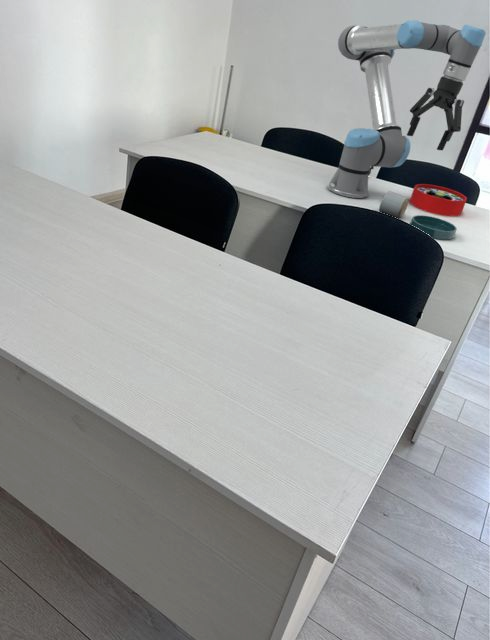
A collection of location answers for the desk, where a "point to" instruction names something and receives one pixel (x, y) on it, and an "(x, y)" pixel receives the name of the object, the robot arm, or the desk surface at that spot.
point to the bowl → (434, 227)
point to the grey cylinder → (393, 204)
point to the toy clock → (438, 200)
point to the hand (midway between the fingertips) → (424, 142)
